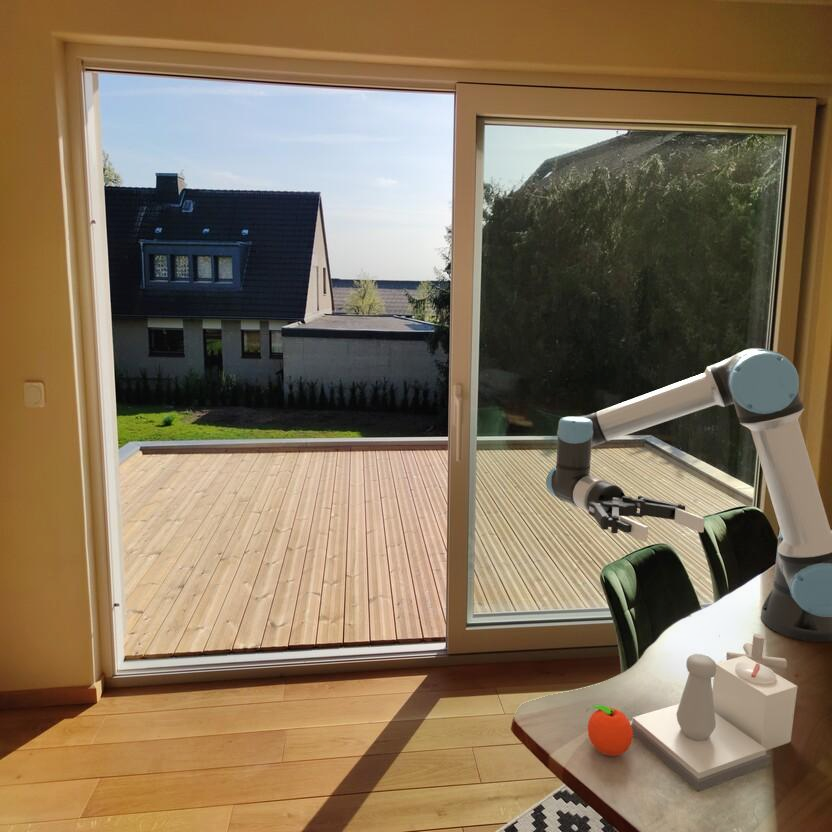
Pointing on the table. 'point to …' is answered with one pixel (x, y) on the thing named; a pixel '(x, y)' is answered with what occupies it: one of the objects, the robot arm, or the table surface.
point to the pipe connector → (759, 654)
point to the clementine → (609, 731)
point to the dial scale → (726, 725)
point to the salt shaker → (698, 699)
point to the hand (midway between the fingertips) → (675, 529)
